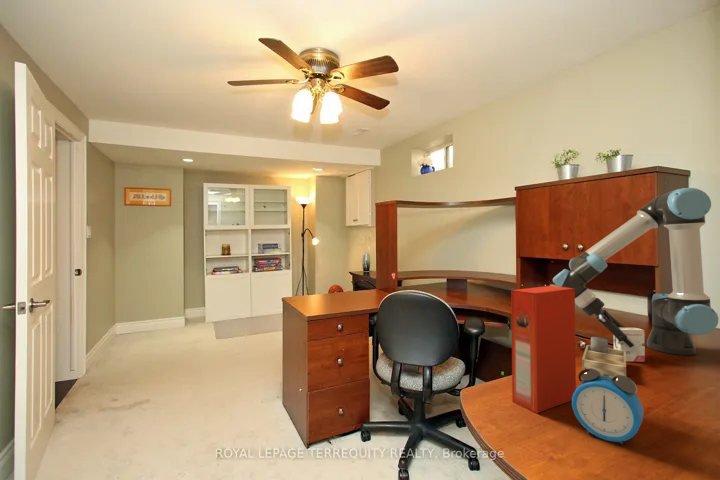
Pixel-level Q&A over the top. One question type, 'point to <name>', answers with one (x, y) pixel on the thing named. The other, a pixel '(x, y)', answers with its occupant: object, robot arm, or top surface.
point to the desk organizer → (604, 358)
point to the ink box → (637, 337)
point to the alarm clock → (607, 406)
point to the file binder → (543, 347)
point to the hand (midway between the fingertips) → (639, 350)
